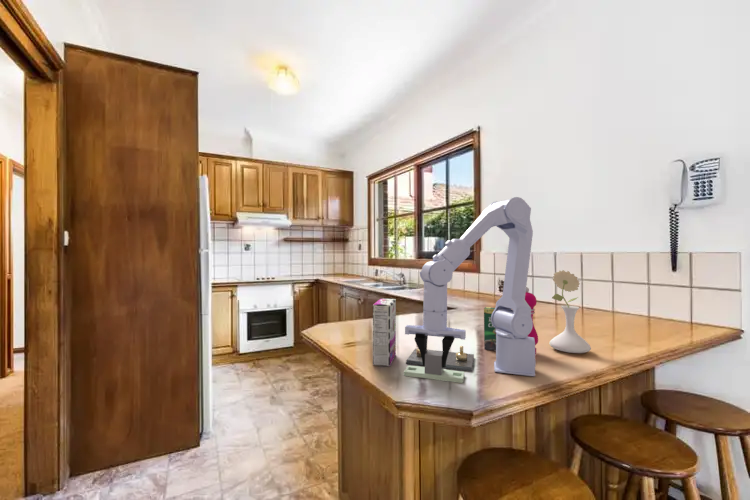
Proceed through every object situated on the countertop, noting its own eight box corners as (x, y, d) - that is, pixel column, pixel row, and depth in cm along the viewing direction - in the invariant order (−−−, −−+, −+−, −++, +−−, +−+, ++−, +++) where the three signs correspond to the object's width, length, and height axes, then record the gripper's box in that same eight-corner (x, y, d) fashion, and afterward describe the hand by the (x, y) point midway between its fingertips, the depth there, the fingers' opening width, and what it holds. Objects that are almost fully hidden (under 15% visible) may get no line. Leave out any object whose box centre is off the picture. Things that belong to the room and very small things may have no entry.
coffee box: (482, 349, 110) (483, 307, 110) (484, 347, 113) (485, 306, 113) (510, 353, 106) (510, 309, 106) (511, 351, 109) (512, 308, 109)
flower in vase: (600, 355, 105) (601, 271, 106) (568, 357, 103) (569, 271, 103) (566, 343, 118) (567, 269, 118) (537, 345, 115) (538, 269, 115)
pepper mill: (543, 356, 104) (543, 288, 104) (519, 356, 103) (520, 288, 103) (530, 349, 111) (531, 285, 111) (508, 349, 110) (508, 285, 110)
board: (464, 375, 86) (464, 353, 86) (462, 383, 82) (463, 359, 82) (408, 369, 91) (408, 347, 91) (403, 375, 86) (404, 352, 86)
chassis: (473, 357, 101) (474, 342, 101) (471, 371, 90) (471, 353, 90) (415, 351, 106) (415, 336, 106) (406, 363, 95) (406, 347, 95)
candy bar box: (379, 353, 104) (380, 298, 104) (396, 354, 103) (396, 298, 103) (371, 365, 93) (372, 303, 93) (390, 367, 92) (390, 304, 92)
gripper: (402, 310, 85) (401, 367, 85) (464, 315, 80) (463, 374, 80) (408, 306, 91) (408, 358, 91) (466, 310, 87) (465, 365, 87)
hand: (434, 365), depth 86 cm, fingers closed on board, 4 cm apart
